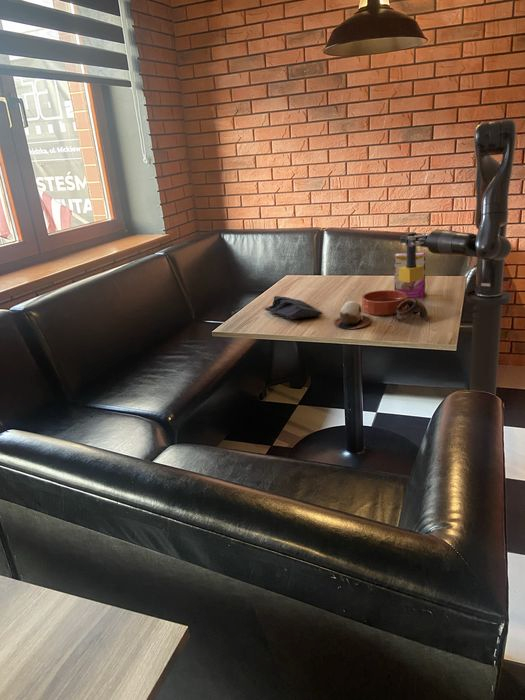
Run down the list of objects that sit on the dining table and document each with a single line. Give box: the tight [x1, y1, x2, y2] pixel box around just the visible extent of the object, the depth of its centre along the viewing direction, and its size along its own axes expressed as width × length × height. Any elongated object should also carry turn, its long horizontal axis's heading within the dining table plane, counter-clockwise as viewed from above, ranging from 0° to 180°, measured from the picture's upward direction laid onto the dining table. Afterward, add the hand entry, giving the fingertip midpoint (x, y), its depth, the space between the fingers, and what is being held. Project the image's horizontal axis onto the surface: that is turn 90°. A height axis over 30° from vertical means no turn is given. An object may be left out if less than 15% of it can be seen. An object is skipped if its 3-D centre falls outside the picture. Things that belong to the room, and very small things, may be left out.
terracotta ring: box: [361, 289, 408, 316], centre depth 190 cm, size 16×16×5 cm
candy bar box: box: [393, 252, 426, 299], centre depth 200 cm, size 11×5×16 cm, turn 74°
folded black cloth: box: [265, 295, 323, 320], centre depth 196 cm, size 15×22×5 cm
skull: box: [334, 300, 372, 330], centre depth 179 cm, size 12×10×10 cm
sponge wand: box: [399, 231, 424, 283], centre depth 181 cm, size 7×5×16 cm
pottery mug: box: [396, 298, 430, 322], centre depth 177 cm, size 12×10×8 cm
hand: (404, 238), depth 182 cm, fingers closed on sponge wand, 3 cm apart
